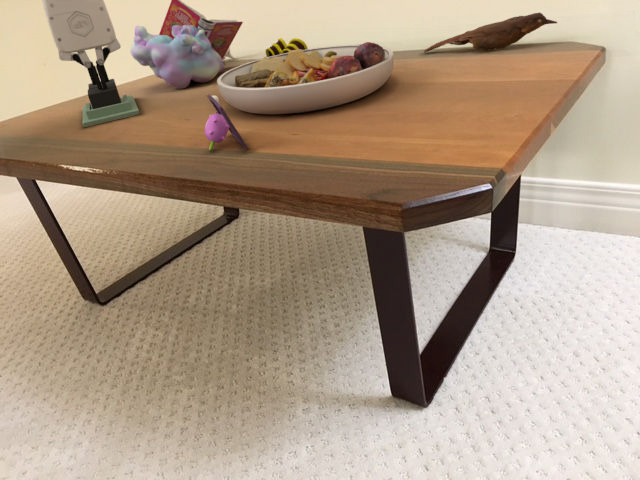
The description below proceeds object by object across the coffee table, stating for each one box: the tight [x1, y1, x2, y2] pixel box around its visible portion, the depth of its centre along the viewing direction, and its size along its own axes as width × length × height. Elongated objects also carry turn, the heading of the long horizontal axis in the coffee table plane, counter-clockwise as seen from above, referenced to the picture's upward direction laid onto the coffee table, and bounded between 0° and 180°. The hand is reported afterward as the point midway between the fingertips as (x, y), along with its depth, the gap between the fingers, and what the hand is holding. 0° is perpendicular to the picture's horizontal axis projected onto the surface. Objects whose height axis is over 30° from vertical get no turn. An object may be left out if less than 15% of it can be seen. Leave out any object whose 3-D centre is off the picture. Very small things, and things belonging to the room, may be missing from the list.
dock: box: [82, 78, 141, 128], centre depth 104 cm, size 10×16×5 cm, turn 22°
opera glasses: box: [265, 37, 309, 57], centre depth 123 cm, size 10×5×5 cm, turn 43°
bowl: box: [216, 41, 395, 115], centre depth 92 cm, size 30×30×8 cm
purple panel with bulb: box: [204, 93, 249, 152], centre depth 73 cm, size 7×5×9 cm
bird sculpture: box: [423, 12, 558, 53], centre depth 103 cm, size 7×25×5 cm, turn 68°
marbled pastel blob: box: [130, 0, 244, 90], centre depth 118 cm, size 20×22×18 cm
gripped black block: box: [87, 83, 121, 109], centre depth 102 cm, size 5×6×4 cm
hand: (102, 87), depth 101 cm, fingers closed
